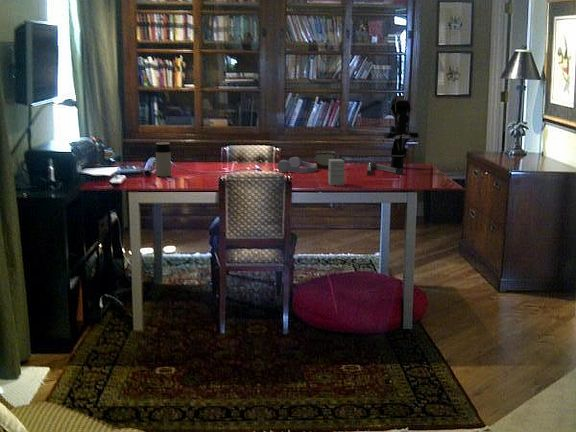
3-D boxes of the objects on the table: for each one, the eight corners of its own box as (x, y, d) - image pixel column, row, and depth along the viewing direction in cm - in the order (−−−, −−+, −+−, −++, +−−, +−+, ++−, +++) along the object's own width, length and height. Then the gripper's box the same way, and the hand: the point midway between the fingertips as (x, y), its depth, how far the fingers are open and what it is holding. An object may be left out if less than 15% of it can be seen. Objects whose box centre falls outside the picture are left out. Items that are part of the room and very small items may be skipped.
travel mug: (168, 177, 429) (167, 143, 425) (154, 176, 431) (153, 143, 427) (173, 175, 437) (172, 142, 433) (159, 174, 438) (158, 141, 435)
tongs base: (367, 168, 465) (367, 162, 464) (375, 168, 465) (375, 162, 464) (367, 175, 438) (367, 168, 437) (375, 175, 437) (375, 169, 436)
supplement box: (327, 183, 410) (328, 159, 408) (342, 183, 411) (342, 158, 409) (329, 185, 403) (330, 160, 401) (344, 185, 404) (344, 160, 401)
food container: (336, 167, 466) (336, 150, 464) (335, 169, 460) (336, 152, 458) (315, 167, 467) (315, 150, 465) (314, 169, 461) (314, 151, 459)
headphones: (275, 172, 449) (308, 176, 442) (276, 159, 447) (309, 164, 440) (289, 167, 469) (322, 171, 462) (290, 155, 468) (322, 159, 461)
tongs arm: (375, 168, 461) (375, 164, 460) (378, 168, 462) (378, 164, 461) (400, 174, 440) (400, 169, 440) (403, 173, 441) (403, 169, 441)
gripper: (412, 121, 456) (411, 148, 459) (381, 121, 452) (380, 149, 455) (419, 122, 445) (418, 150, 448) (387, 123, 441) (387, 151, 444)
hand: (400, 150), depth 449 cm, fingers closed
